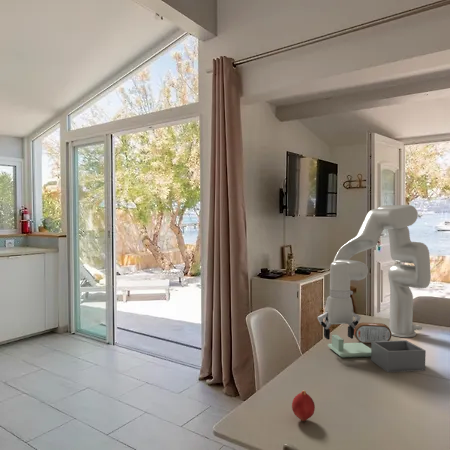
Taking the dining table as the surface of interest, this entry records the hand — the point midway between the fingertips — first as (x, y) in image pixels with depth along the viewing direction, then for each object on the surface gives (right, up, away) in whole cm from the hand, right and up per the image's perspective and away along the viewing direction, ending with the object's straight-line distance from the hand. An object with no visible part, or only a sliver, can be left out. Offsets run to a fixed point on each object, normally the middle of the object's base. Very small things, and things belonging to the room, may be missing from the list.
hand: (338, 338), depth 151 cm
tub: (+18, -6, -11) cm, 22 cm away
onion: (-24, -7, -50) cm, 56 cm away
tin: (+18, -6, +13) cm, 23 cm away
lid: (+5, -6, +1) cm, 8 cm away
